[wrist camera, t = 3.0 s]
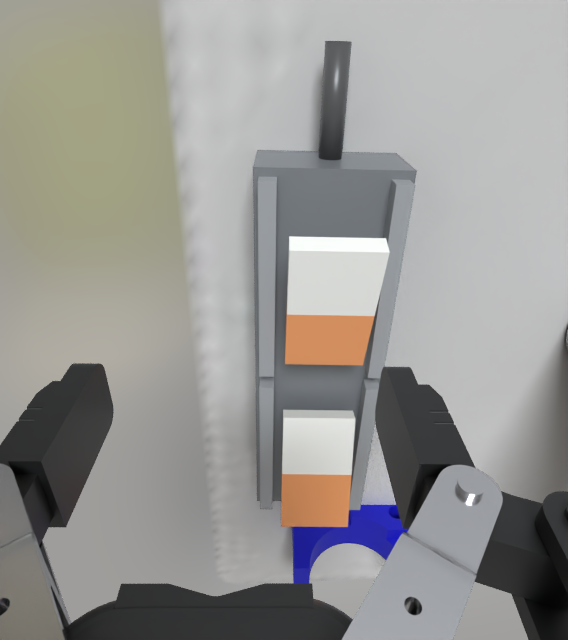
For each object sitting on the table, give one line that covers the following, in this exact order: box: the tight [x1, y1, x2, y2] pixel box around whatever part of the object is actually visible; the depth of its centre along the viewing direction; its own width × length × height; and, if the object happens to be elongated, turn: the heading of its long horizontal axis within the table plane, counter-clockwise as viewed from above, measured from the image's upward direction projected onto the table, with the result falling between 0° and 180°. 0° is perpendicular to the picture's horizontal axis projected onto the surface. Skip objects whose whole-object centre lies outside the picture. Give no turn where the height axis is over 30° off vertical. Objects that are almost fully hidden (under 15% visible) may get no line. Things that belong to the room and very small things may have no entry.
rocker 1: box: [285, 236, 390, 365], centre depth 26 cm, size 9×5×1 cm, turn 179°
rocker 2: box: [281, 410, 355, 527], centre depth 33 cm, size 9×5×1 cm, turn 179°
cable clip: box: [292, 505, 409, 584], centre depth 46 cm, size 12×4×6 cm, turn 90°
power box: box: [253, 41, 417, 510], centre depth 32 cm, size 34×9×6 cm, turn 179°
